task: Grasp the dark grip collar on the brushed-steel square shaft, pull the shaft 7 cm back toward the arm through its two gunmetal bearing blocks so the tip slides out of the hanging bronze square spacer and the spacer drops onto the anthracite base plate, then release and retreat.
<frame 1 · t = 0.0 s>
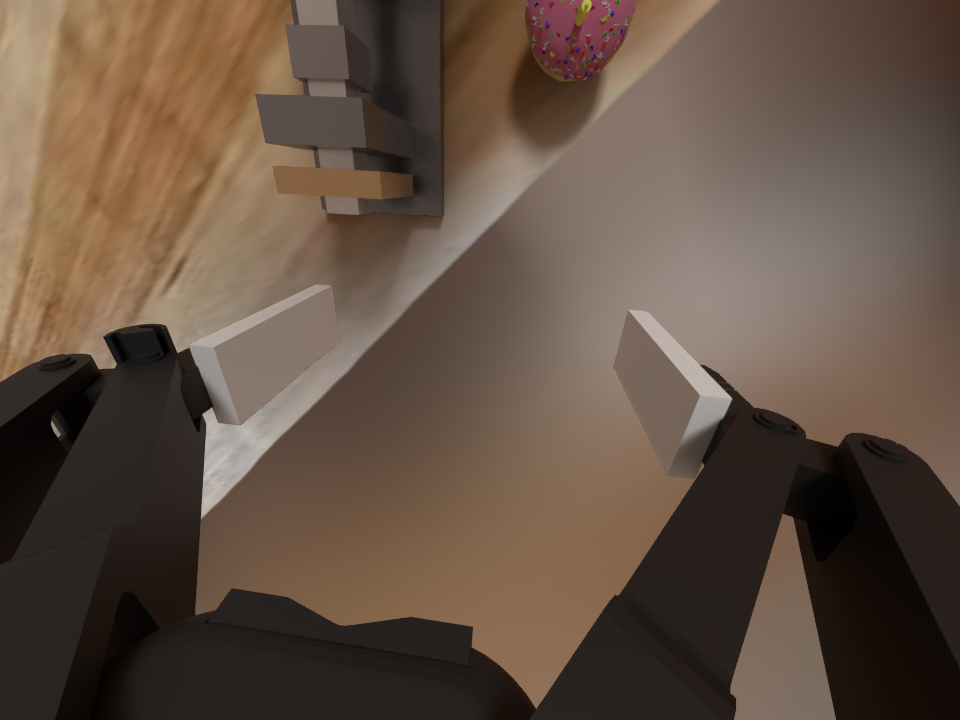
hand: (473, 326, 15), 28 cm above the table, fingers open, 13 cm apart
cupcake: (571, 36, 31), on the table
shaft: (330, 45, 26), point 9 cm above the table, slide at 0.0 cm, touching spacer
spacer: (352, 183, 32), point 8 cm above the table, touching shaft
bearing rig: (375, 77, 34), on the table
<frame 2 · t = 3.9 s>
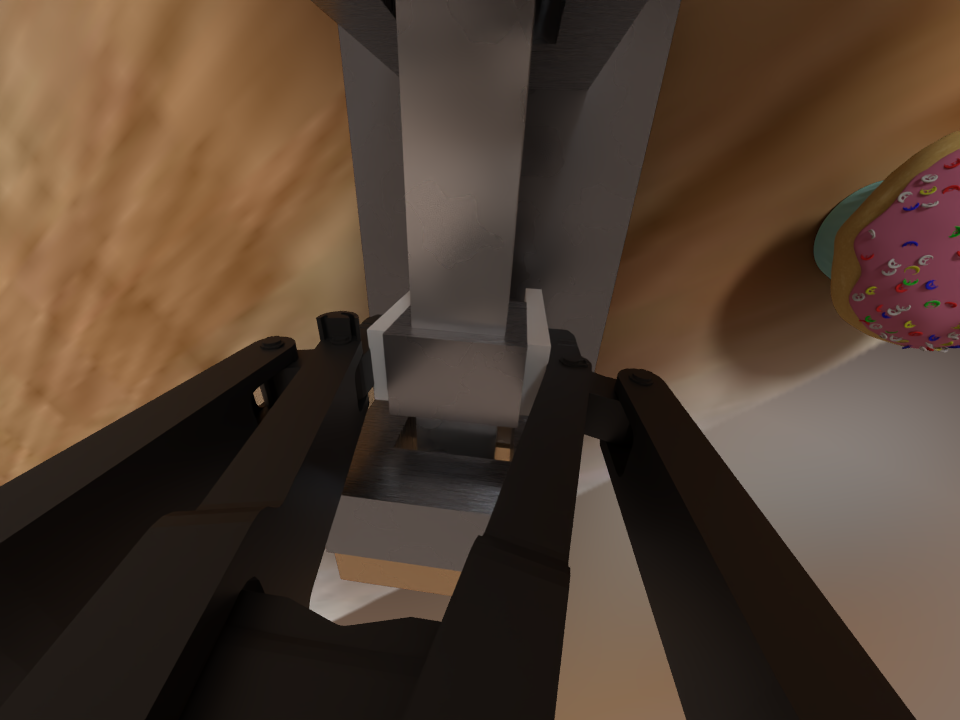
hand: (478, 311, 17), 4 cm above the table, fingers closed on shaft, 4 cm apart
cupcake: (861, 230, 17), on the table
shaft: (464, 328, 12), point 9 cm above the table, slide at 0.0 cm, touching gripper, spacer
spacer: (462, 491, 18), point 8 cm above the table, touching shaft
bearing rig: (487, 272, 20), on the table
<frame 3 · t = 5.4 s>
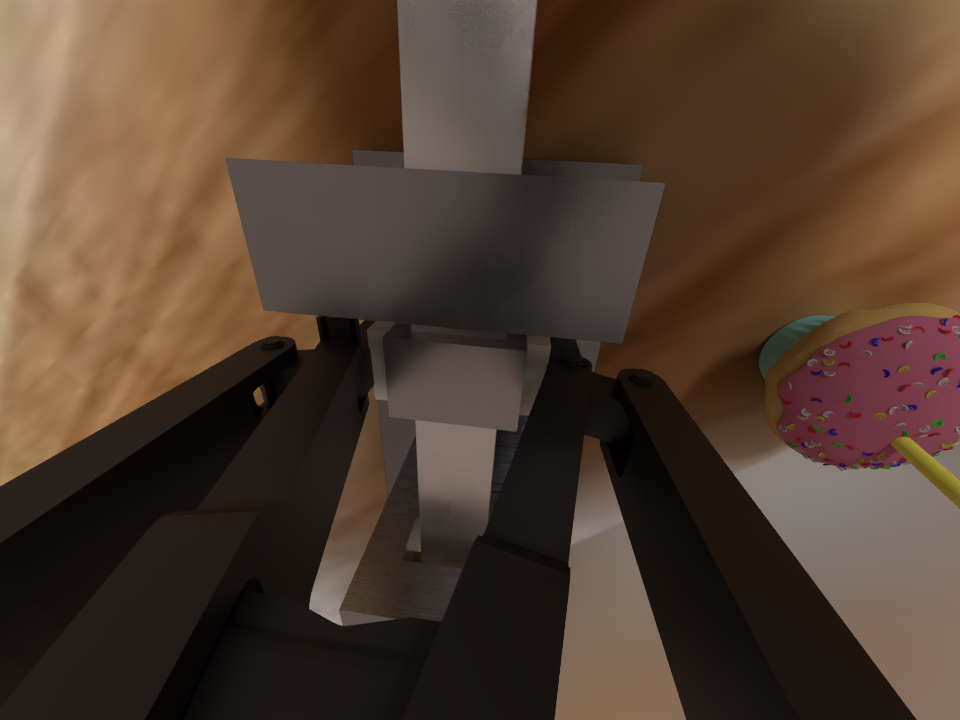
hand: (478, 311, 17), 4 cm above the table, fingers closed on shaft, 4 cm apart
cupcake: (798, 349, 20), on the table
shaft: (464, 331, 12), point 9 cm above the table, slide at 6.5 cm, touching gripper
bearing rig: (481, 370, 23), on the table
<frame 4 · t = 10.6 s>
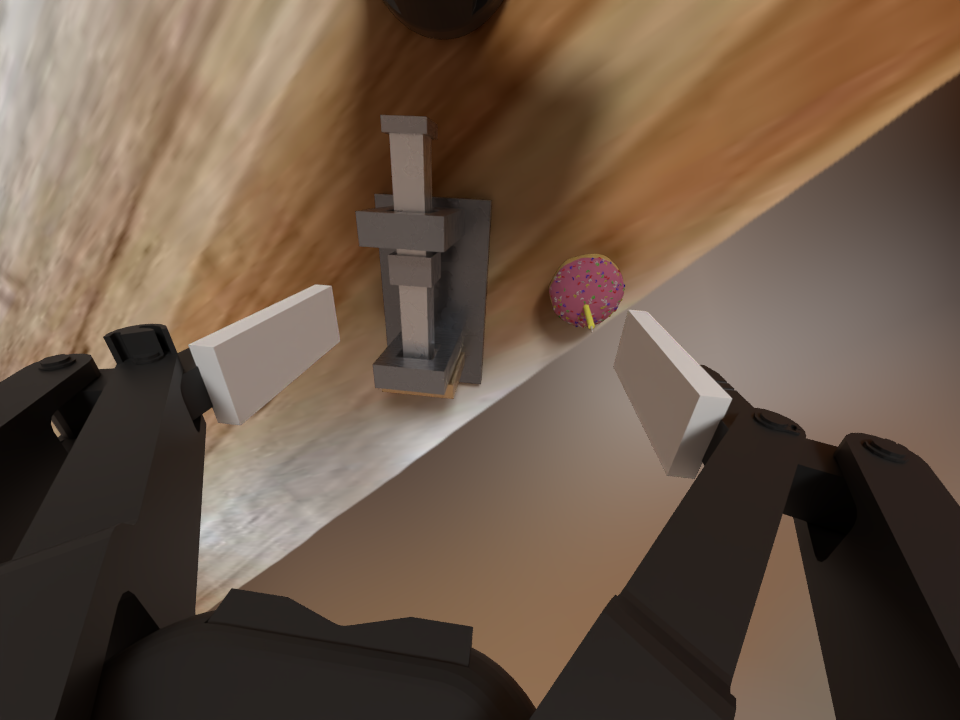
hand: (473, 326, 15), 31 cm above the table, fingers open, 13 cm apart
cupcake: (579, 281, 44), on the table
shaft: (415, 257, 36), point 9 cm above the table, slide at 6.9 cm
spacer: (426, 370, 46), point 6 cm above the table, touching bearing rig
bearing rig: (436, 296, 47), on the table
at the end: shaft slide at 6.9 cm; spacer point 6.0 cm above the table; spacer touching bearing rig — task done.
